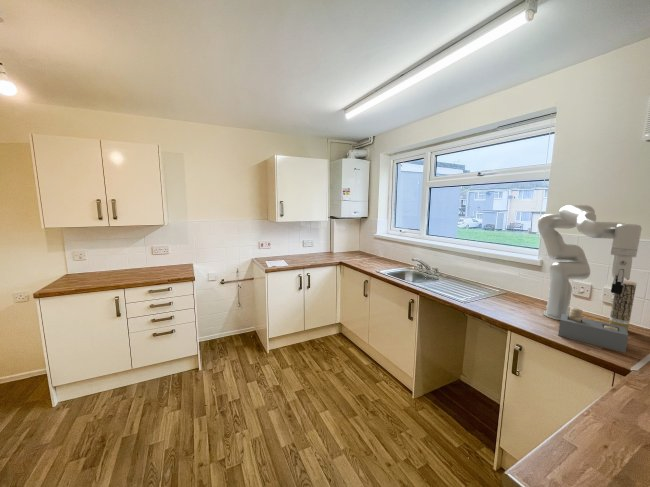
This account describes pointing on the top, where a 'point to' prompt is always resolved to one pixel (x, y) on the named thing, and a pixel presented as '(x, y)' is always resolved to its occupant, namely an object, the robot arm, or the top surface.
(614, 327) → the peg outer
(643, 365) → the top surface
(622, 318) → the bark textured peg
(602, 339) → the block
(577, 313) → the peg inner
